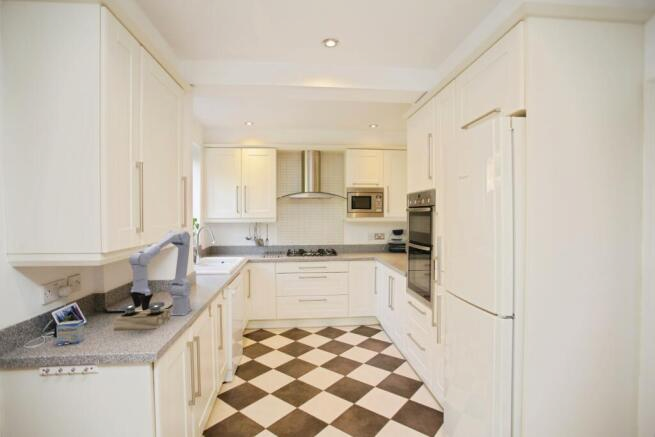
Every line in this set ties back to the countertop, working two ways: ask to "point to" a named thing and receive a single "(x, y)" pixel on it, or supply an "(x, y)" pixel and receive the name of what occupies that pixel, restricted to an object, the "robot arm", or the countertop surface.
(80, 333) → the medicine box
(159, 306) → the peg
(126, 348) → the countertop surface
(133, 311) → the peg
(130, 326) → the block
